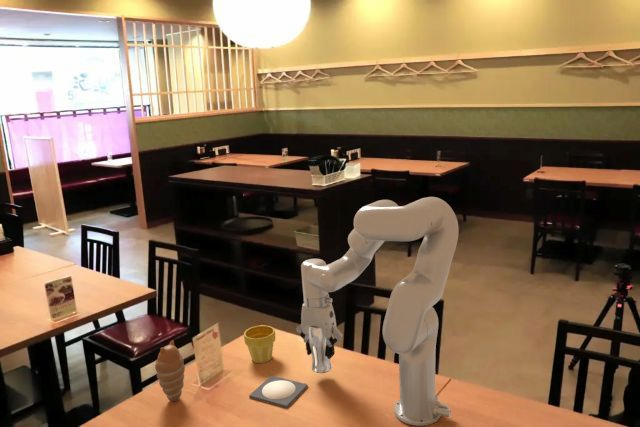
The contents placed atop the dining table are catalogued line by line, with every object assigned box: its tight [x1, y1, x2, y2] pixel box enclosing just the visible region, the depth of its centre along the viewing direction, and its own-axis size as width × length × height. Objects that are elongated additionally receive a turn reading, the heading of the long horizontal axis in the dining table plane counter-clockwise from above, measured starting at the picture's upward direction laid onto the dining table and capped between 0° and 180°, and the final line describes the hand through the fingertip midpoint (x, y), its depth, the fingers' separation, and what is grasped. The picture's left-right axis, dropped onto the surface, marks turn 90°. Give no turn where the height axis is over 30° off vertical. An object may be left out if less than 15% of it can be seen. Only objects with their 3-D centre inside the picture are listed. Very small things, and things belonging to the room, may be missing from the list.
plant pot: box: [243, 324, 276, 364], centre depth 177 cm, size 10×10×10 cm
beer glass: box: [308, 326, 333, 374], centre depth 161 cm, size 7×7×15 cm
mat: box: [248, 375, 309, 409], centre depth 157 cm, size 13×12×1 cm
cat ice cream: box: [154, 340, 186, 402], centre depth 154 cm, size 9×8×18 cm
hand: (320, 354), depth 162 cm, fingers closed on beer glass, 6 cm apart
